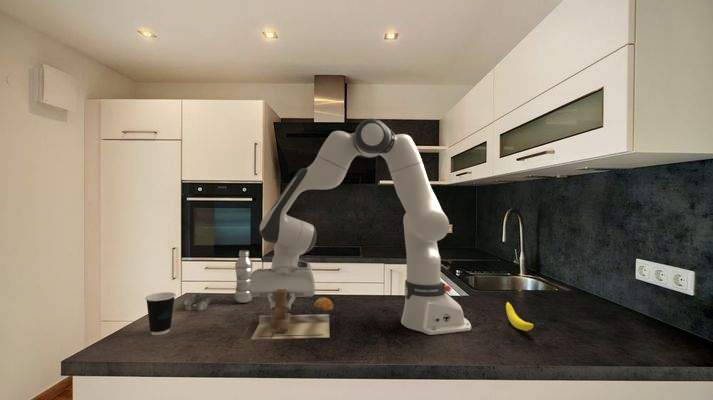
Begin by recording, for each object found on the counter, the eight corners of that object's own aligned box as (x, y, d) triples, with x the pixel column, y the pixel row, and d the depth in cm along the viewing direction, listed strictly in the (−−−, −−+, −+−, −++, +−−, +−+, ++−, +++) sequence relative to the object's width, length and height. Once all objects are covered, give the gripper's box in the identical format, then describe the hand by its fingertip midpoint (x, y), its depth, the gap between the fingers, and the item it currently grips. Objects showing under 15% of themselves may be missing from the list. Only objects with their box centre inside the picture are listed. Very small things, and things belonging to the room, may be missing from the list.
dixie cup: (155, 326, 105) (155, 291, 105) (180, 327, 105) (180, 292, 105) (138, 337, 97) (139, 299, 97) (165, 337, 97) (166, 300, 97)
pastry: (337, 313, 120) (337, 303, 120) (319, 316, 118) (319, 305, 118) (329, 305, 129) (329, 295, 129) (312, 307, 126) (312, 297, 126)
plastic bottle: (247, 305, 127) (247, 252, 127) (231, 303, 128) (231, 252, 128) (255, 300, 133) (256, 250, 133) (240, 298, 135) (240, 249, 135)
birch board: (329, 325, 109) (329, 314, 109) (329, 342, 96) (329, 330, 96) (259, 326, 107) (259, 315, 107) (250, 344, 94) (251, 332, 94)
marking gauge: (290, 322, 105) (290, 287, 104) (287, 332, 97) (287, 294, 97) (273, 322, 104) (274, 287, 104) (269, 332, 97) (270, 295, 96)
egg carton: (203, 311, 121) (204, 300, 120) (182, 312, 120) (182, 300, 120) (213, 302, 131) (213, 291, 131) (193, 302, 130) (193, 291, 130)
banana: (527, 341, 99) (528, 319, 99) (502, 318, 118) (502, 300, 118) (537, 341, 98) (538, 320, 98) (510, 318, 117) (511, 300, 117)
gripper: (251, 263, 107) (243, 303, 97) (315, 263, 108) (314, 303, 99) (253, 274, 111) (246, 313, 101) (315, 274, 113) (314, 312, 103)
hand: (280, 308), depth 100 cm, fingers closed on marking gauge, 3 cm apart
